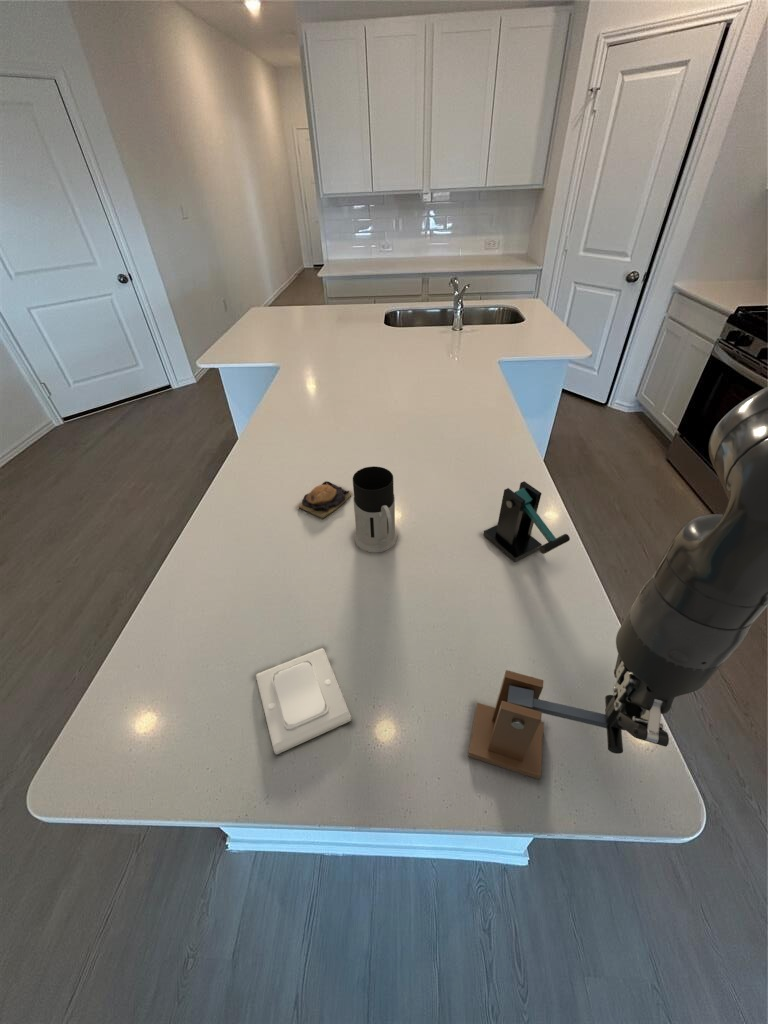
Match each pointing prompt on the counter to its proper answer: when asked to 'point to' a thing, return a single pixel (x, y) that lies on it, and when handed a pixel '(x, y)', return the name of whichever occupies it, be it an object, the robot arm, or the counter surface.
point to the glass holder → (374, 509)
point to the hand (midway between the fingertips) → (615, 719)
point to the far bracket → (515, 525)
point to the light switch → (301, 700)
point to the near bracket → (510, 730)
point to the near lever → (568, 714)
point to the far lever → (541, 525)
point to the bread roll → (324, 499)
